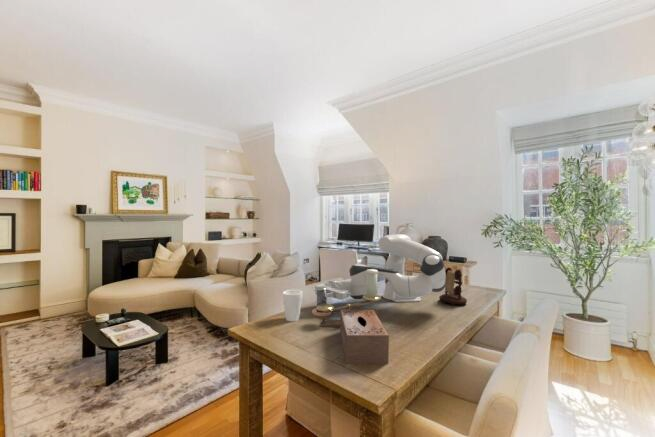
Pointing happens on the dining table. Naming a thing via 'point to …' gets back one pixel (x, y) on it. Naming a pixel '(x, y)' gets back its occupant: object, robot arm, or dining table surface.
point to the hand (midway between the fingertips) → (320, 294)
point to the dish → (320, 313)
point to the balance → (330, 308)
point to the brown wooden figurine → (453, 292)
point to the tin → (321, 296)
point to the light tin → (371, 283)
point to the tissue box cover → (363, 337)
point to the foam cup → (292, 304)
